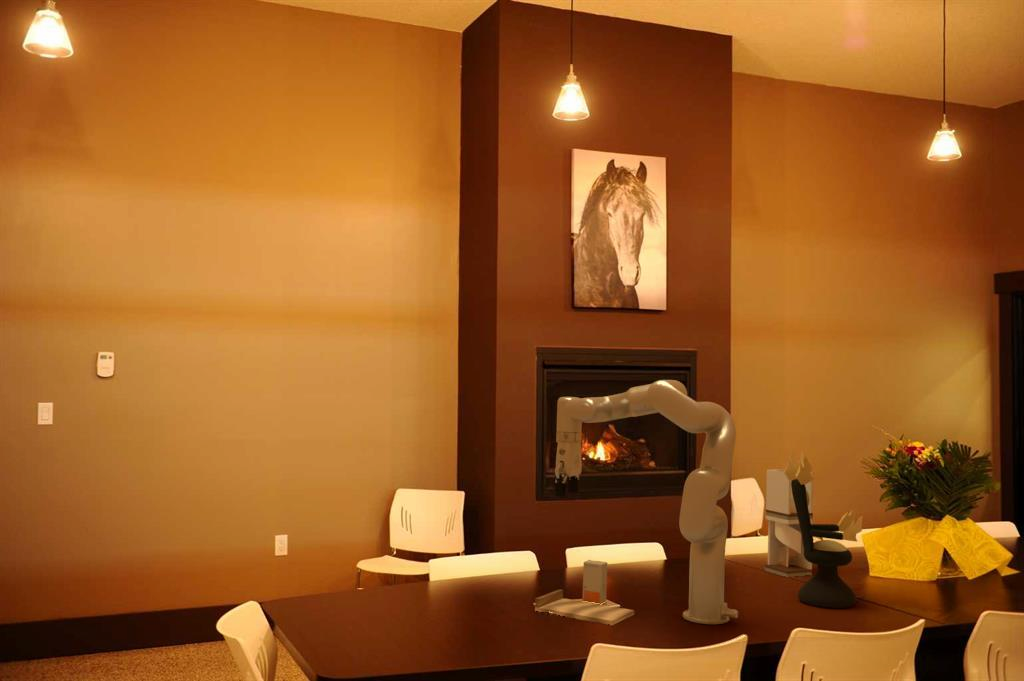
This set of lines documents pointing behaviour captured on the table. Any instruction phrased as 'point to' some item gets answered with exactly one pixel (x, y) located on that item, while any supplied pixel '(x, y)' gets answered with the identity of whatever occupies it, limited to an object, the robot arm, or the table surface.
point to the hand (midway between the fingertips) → (567, 494)
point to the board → (580, 609)
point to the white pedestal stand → (785, 527)
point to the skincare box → (594, 581)
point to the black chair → (822, 544)
